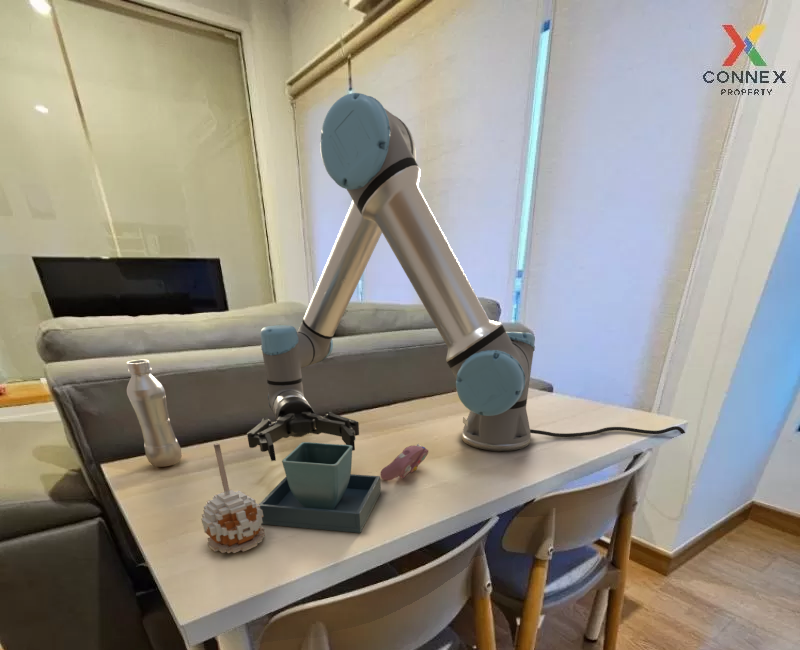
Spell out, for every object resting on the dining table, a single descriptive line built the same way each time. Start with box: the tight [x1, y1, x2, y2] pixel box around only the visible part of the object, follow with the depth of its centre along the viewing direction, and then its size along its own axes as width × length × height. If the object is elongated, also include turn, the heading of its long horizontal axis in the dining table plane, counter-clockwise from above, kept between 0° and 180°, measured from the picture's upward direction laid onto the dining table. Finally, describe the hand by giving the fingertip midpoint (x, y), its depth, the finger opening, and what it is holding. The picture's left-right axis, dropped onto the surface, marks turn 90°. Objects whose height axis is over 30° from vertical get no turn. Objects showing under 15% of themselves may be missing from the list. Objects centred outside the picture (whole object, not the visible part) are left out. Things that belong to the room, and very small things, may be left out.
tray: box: [258, 473, 382, 534], centre depth 76 cm, size 16×14×3 cm
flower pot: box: [281, 441, 353, 510], centre depth 74 cm, size 9×9×9 cm
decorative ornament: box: [200, 443, 266, 554], centre depth 64 cm, size 8×8×15 cm
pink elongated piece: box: [379, 443, 429, 481], centre depth 87 cm, size 10×5×7 cm, turn 148°
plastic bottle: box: [126, 359, 183, 468], centre depth 89 cm, size 6×7×20 cm
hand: (313, 448), depth 78 cm, fingers open, 13 cm apart
